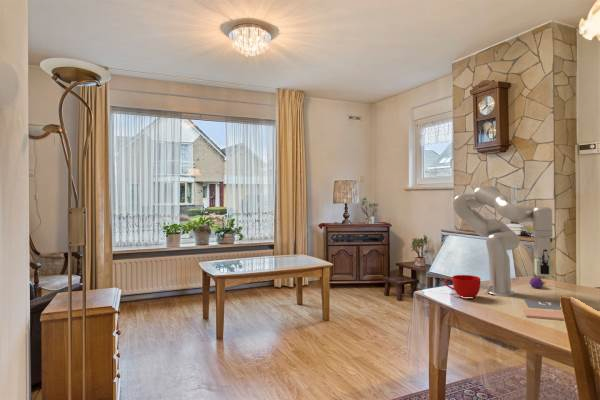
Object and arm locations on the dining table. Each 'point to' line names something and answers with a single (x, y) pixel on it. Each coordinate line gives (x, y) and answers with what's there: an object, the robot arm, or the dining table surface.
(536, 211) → the robot arm
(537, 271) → the block
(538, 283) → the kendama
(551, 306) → the mat
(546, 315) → the set down board
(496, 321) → the dining table surface
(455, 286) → the ceramic cup
